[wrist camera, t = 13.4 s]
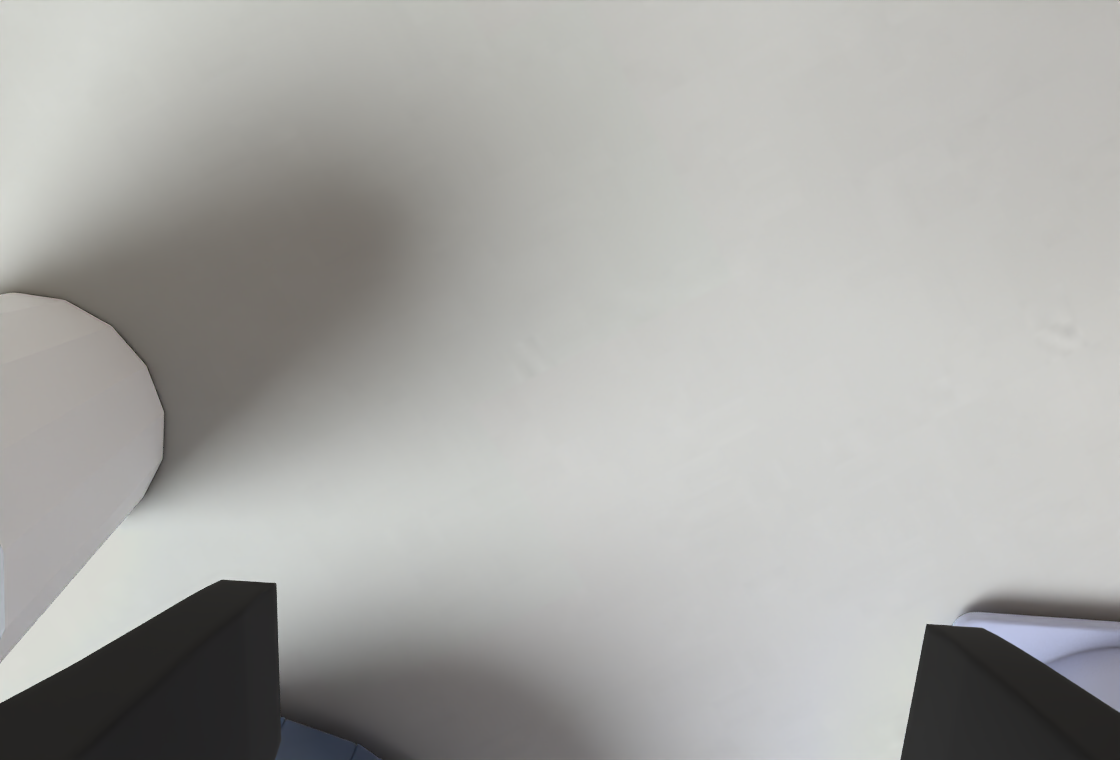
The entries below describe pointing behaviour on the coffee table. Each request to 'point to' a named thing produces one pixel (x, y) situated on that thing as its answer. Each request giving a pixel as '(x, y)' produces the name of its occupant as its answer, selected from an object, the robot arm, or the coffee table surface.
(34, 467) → the white cylinder
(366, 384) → the coffee table surface
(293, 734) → the bowl
